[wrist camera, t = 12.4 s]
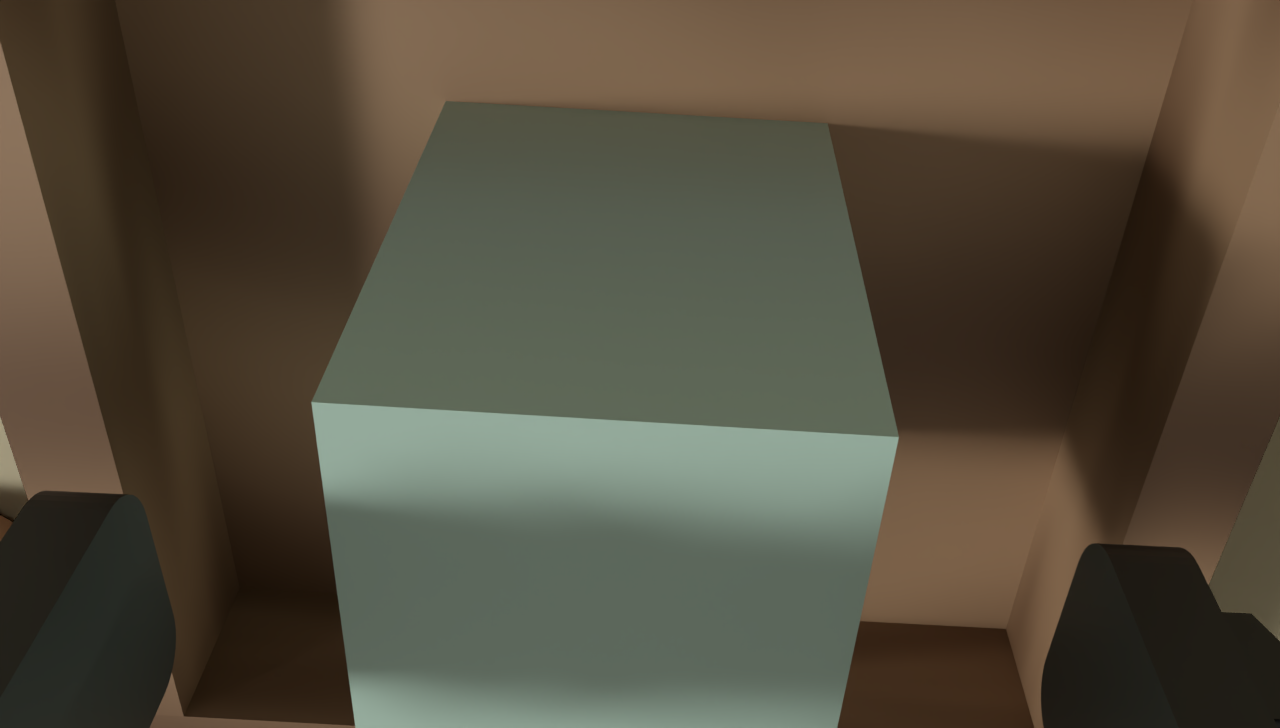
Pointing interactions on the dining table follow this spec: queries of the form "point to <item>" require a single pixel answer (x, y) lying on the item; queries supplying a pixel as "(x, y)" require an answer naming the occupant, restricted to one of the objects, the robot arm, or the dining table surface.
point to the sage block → (607, 429)
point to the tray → (666, 84)
